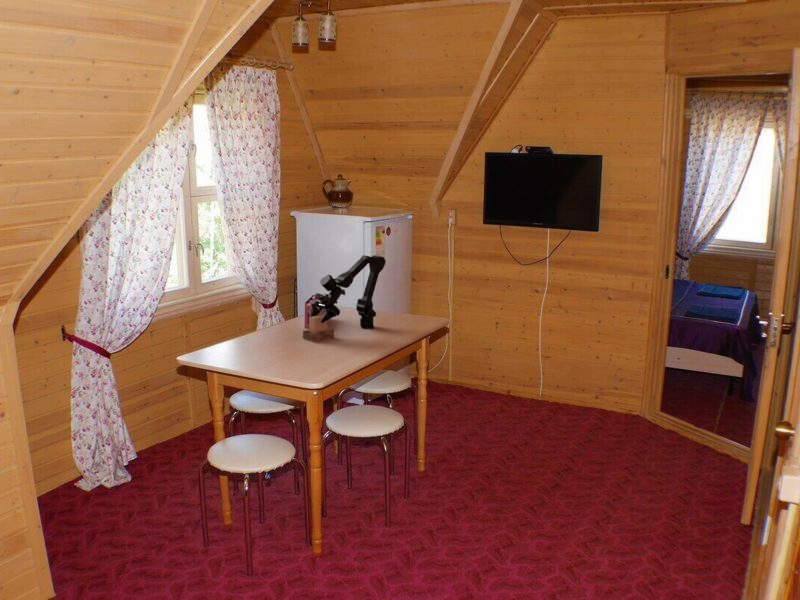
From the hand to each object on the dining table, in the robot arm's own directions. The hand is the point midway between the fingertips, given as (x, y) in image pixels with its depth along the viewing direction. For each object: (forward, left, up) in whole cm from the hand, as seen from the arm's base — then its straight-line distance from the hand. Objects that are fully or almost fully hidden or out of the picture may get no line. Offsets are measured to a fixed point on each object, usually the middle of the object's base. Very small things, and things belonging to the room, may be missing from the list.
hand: (316, 321), depth 372 cm
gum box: (-3, -32, -9) cm, 34 cm away
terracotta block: (-1, -1, -8) cm, 8 cm away
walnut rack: (-1, -1, -9) cm, 9 cm away
